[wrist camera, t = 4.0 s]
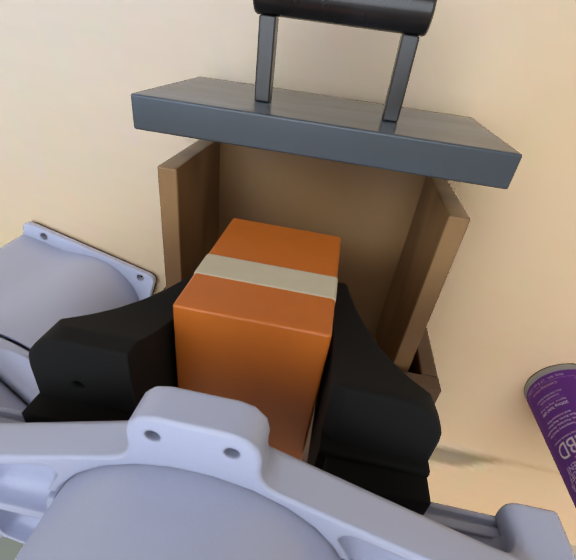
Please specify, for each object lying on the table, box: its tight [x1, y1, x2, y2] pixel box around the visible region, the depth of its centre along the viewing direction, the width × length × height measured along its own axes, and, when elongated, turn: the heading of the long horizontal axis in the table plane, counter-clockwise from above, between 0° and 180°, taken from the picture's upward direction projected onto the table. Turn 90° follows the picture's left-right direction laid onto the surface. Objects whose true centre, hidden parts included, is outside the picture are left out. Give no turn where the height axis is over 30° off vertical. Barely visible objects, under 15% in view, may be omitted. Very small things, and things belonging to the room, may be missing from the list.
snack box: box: [173, 218, 341, 461], centre depth 13 cm, size 6×4×6 cm
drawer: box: [131, 0, 522, 372], centre depth 18 cm, size 18×13×7 cm
